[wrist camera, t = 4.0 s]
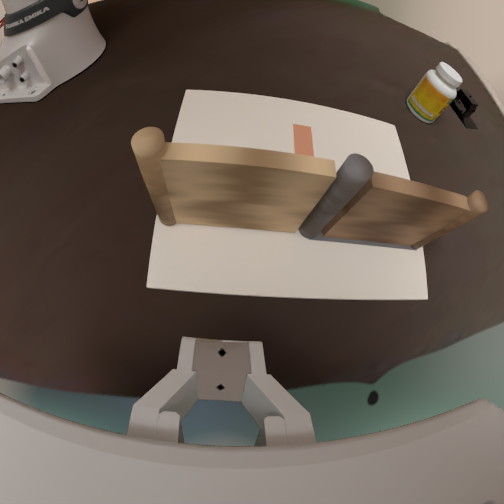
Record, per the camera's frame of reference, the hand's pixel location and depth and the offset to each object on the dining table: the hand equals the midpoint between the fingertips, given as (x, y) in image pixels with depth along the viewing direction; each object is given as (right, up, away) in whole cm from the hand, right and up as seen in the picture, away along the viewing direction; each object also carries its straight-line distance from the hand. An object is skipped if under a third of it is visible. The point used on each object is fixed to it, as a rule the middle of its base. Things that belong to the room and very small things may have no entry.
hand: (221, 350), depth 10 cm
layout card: (+6, +10, +16) cm, 20 cm away
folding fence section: (-1, +6, +13) cm, 14 cm away
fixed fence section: (+12, +5, +15) cm, 20 cm away
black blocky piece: (+40, +30, +28) cm, 57 cm away
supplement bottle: (+27, +25, +24) cm, 43 cm away
